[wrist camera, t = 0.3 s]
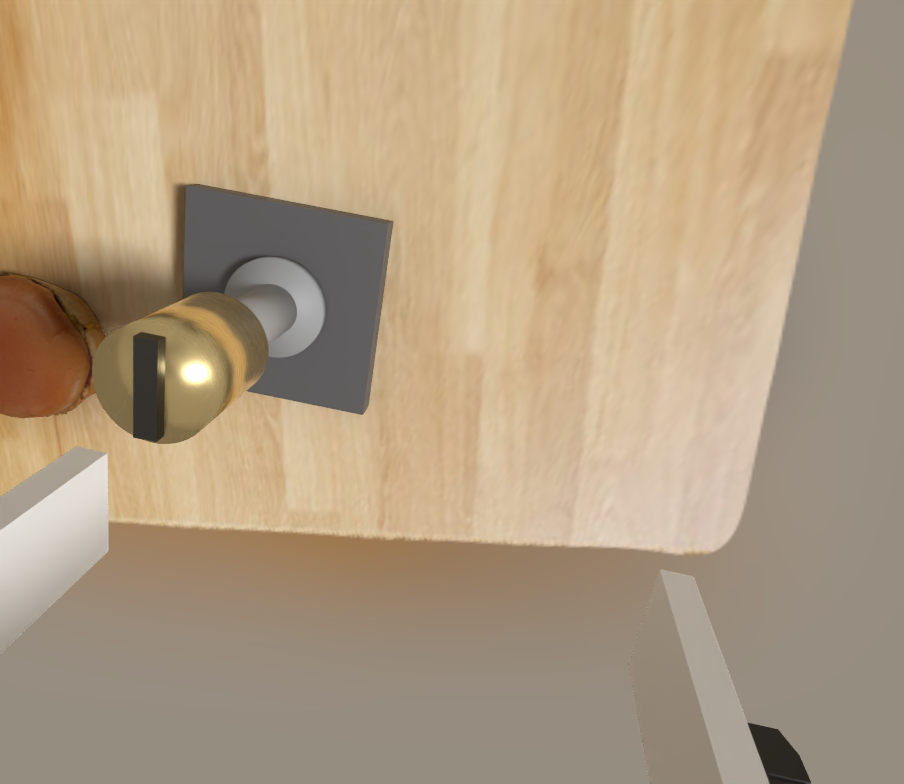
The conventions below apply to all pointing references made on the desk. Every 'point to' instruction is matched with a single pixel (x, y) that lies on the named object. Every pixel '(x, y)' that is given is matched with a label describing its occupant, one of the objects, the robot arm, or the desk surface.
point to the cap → (179, 366)
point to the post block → (295, 287)
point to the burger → (44, 348)
